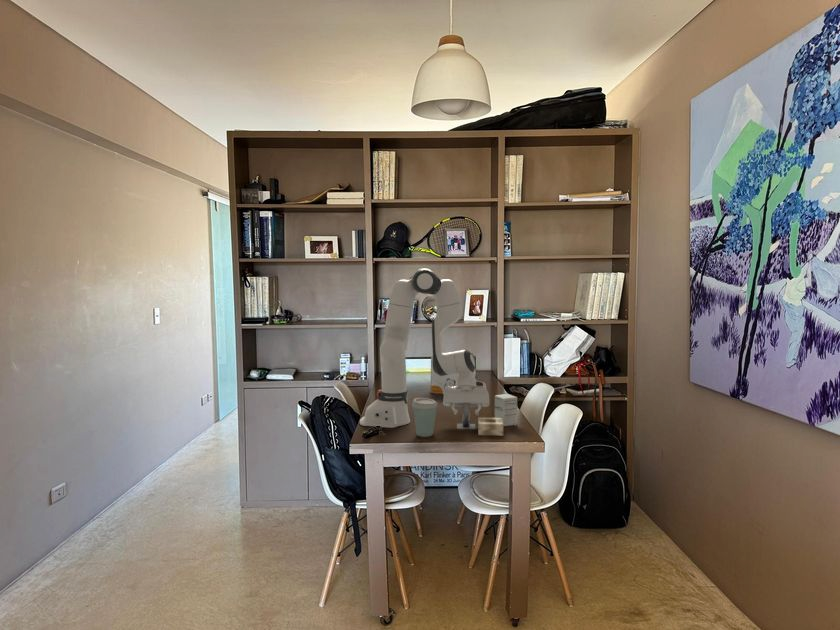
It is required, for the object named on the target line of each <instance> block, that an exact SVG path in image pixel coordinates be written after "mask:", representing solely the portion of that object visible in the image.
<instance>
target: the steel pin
mask: <svg viewBox="0 0 840 630" xmlns="http://www.w3.org/2000/svg"><path fill="white" fill-rule="evenodd" d="M470 411H471V409H470V403H463V406H462V424H463V427H470V424H471V423H470V421H471V419H470V418H471V416H470V414H471V412H470Z"/></svg>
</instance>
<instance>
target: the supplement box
mask: <svg viewBox="0 0 840 630" xmlns="http://www.w3.org/2000/svg"><path fill="white" fill-rule="evenodd" d="M494 418H502V421H503V427H507V426H512V427H513V425H514V426H517V424H518V420H517V419H518V397H517V396H515V395H512V394H509V393H504V394H496V395H495V394H494Z"/></svg>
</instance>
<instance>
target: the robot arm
mask: <svg viewBox="0 0 840 630" xmlns="http://www.w3.org/2000/svg"><path fill="white" fill-rule="evenodd" d="M418 294H424V295H432V296H433V298H434V303H435V307H436V316H435V317H434V319H432V322H431V323H432V324H431V343H432V344H431V346H432V357H433V361H432V366H433V370H434V372H435V373H436V374H438V375H440V376H444V375H448V374H453V373H456V374H457V380H456V387H446V388H444V389H443V394H442V395H443V400H442V403H443V406H444V407H451V409H452V411H453V414H454V415H456V416H457V415H458V409H457V408H456V407H463V403H470V407H471V408H473V407H474V408H475V407H477V409H475V410H474V415H475V416H479V413H480V410H481V409H482V408H484V407H485V408H488V407H489V405H490V394H489V391H488V390H487V383H485V382H482V381H480V380H479V381H478V380H476V373H477V371H476V359H475V356H474V354H473V352H471V351H469V350H468V349H461V350H455V351H449V352H444V350H443V333H444V331H445V330H446V329H448V328H450V327H451V326H452V325H455V324H456V323H457V322H459V320H460V319H461V318H462V315H463V307H462V302H461V297H460V294H459V291H458V287H457V285H456V283H455V282H454V280H452V279H448V278H445V279H440V277H439V276H438V275H437V274H436V273H435V272H434V271H433V269H430V268H428V267H420V268H418V269H417V270H415V271H414V272H413V274H412V275H411V277H409V279H399V280H397V281H395V282H394V283H393V285H392V289H391V292H390V296H389V299H388V306H387V310H386V311H387V312H386V318H385V326H384V333H383V334H384V335H383V340H382V342H381V343H380V346H379V358H380V362H379V363H380V370H381V389H378V390H377V392H376V393H377V394H376V396H377V397H376V399H375V400H374V401H373V402H372V403H371V404H370V405H368V406H367V407H366V409H365V412H364V416H362V417H361V418H360V419H359V425H361V426H364V427H365V426H366V427H376V426H380V427H379V428H388V429H389V428H390V429H392V428H393V429H394V428H397V427H400V426H405V425H407V424H410V423H411V419H410V415H409V408H408V400H409V399H408V398H409V395H408V390H407V365H406V364H407V362H406V353H407V349H408V344H409V338H410V337H409V336H410V330H411V324H412V323H411V322H412V316H413V312H414V304H415V300H416V297H417V295H418Z"/></svg>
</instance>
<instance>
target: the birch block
mask: <svg viewBox="0 0 840 630" xmlns="http://www.w3.org/2000/svg"><path fill="white" fill-rule="evenodd" d="M477 432H478V436H501V437H502V436H504V426H503V421H502V418H495V417H485V416H484V417H483V416H482V417H480V416H478V417H477Z"/></svg>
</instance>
